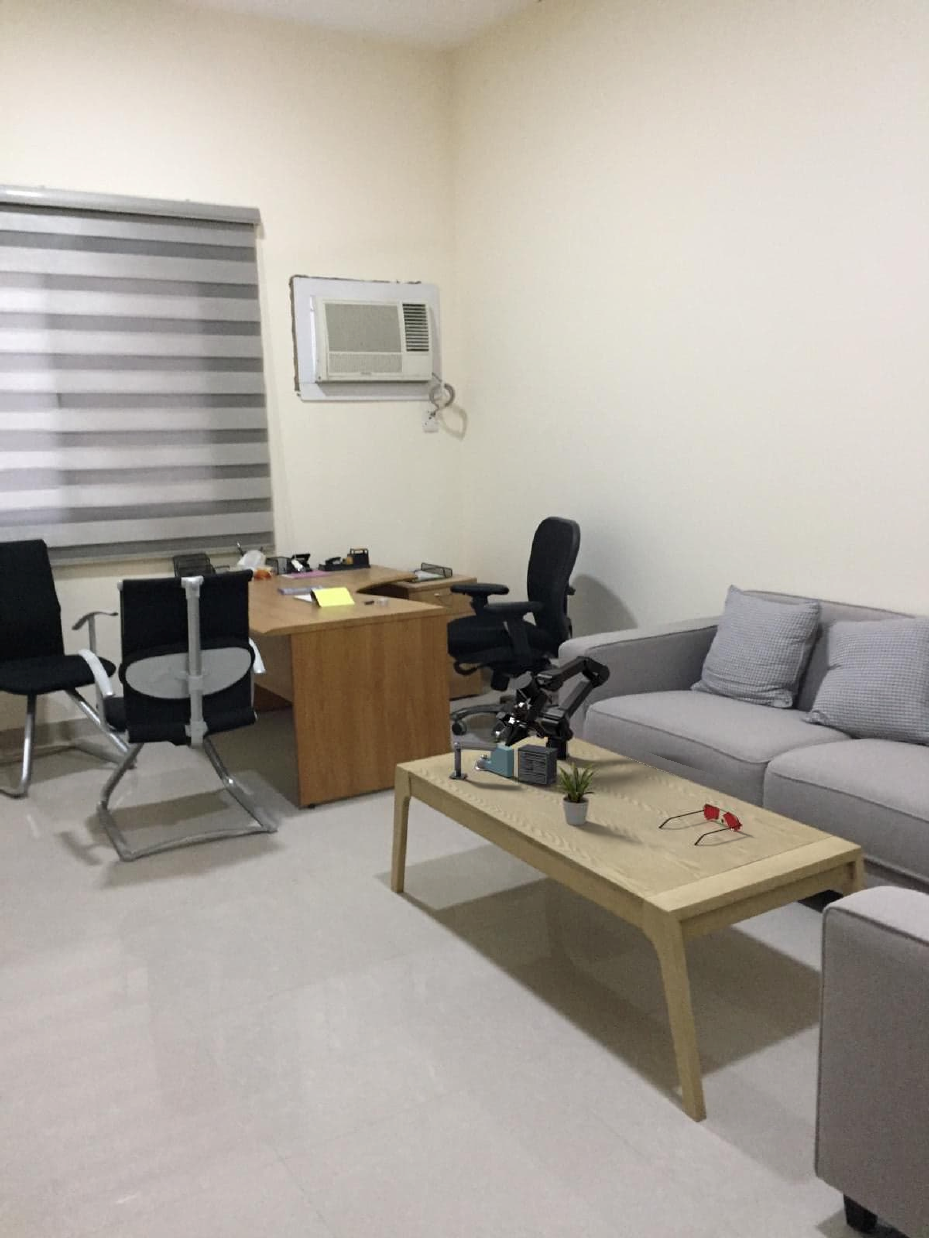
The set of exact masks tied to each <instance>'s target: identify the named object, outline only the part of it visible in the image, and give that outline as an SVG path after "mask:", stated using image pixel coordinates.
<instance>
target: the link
mask: <svg viewBox="0 0 929 1238" xmlns="http://www.w3.org/2000/svg"><path fill="white" fill-rule="evenodd" d="M496 744H498V748H497V749H496V750H495V751H490V756H488V755H487V759H482V758H481V756H478V757H476V765H477V767H478V768H485V769H487V770H488V771H490V772H492V773H495V774H497V775H501V776H504V777H506V778H508V777H509V778H510V777H512V776H515V748H513V747H511V746H510V747H507V746H505V744H504V745H503V744H501V743H498V742H497V743H496Z"/></svg>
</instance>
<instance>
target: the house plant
mask: <svg viewBox="0 0 929 1238" xmlns="http://www.w3.org/2000/svg"><path fill="white" fill-rule="evenodd" d="M596 764H597V762H595V763H591V764H589V765H588V766H587V767H586V768H585V769H584V771H583V772H582V775H581V778H580V775H579V768H578V767H577V765H576V764H575V762H574V761H571V764H568V766H569V767H570V768H571V770H572V773H573V776H574V779H573V777H571V778H570V776H569V775H568V773H567V772H566V771H565V770H564V769H563V768H562V767H561V766H559V765H558V764H557V765H556V766H557V769H559V770H560V775H559V774H558V773H557V776H559V777H560V779H561V782H560V784H562V785H564V786H562V785H560V784H559V785H558V784H555V786H556V787H558V788H560V789H561V790H563V791H565V792H567V794H566V793H565V792H563V791H561V790H558V791H557V792H555V793H558V794H559V793H560V794H564V795H565V796H563V797H562V806H563V811H564V812H563V813H564V819H565V823H566V824H567V825H568V824H569V825H571V826H572V825H573V826H582V825H584V824H585V823H586V820H587V815H588V808H589V803H590V799H589V797H587V796H585V795H587V794H588V795H589V794H590V795H591V794H592V795H595V796H597V794H596V793H595V792H593V790H595V791H598V789H597V788H596V787H590V788H588V786H589V785H590V783H591V782H592V781H594V780H595V779H594V778H593V777H594V776H595V775H598V774H599V773H600V774H601V773H604V771H598V769H597V770H593V771H592V772H591V773H589V771H591V768H592V767H593V766H594V765H596ZM588 773H589V774H588ZM554 774H555V773H554ZM591 778H593V779H591ZM590 790H592V791H590Z"/></svg>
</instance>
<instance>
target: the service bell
mask: <svg viewBox="0 0 929 1238" xmlns="http://www.w3.org/2000/svg"><path fill="white" fill-rule="evenodd" d="M487 756H488V754H481V756H480V757H481V758H482V759H487ZM473 767H474V768H473V769H474V770H476V771H481V770H487V769H485V768H478V767H477V764H475V765H473Z"/></svg>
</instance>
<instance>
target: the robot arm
mask: <svg viewBox="0 0 929 1238" xmlns="http://www.w3.org/2000/svg"><path fill="white" fill-rule="evenodd" d="M580 673H581V674H580ZM578 674H580V675H581V677H580V679H581V680H580V681H579V682H578V683H577V685H575V687H574V689H573V690H572V691H571V692H570V693H569V694H568V696H567V697H566V699H564V701H563V702H561V704H560V706H559V707H558V708H552V707H551V708H549V709H547V711H546V713H545V714H544V715H543V716H542V715H541V713H542V712H543V709H544V708H545V707H546V705H547V704H549V705H553V698H552V697H553V696H552V694H548V693H547V692H550V693H557V692H558V691H559V690H561V688H563V686H564V683H566V681H568V680H570V679H571V678H573V677H575V676H577V675H578ZM610 675H611V672H610V669H609V667H608V666H607V665H605V664H602V663H600V662H598V661H596V660H594V659H593V658H592V657H590V656H588V655H587V656H586V655H581V654H580V655H577V656H576V657H575V658H574V659H572V660H569V661H568V662H566V663H564V664H563V665H561V666H559V667H557V668H555V669H548V670H543V671H541V672H539V673H538V674H537V675H534V673H533V671H526V672H525V673H523V674H521V675H519V676H518V677H517V678H516V680H515V682H514V685H515V687H516V689H517V690H518V691H519V692H520V693H521V695H522V696H523V697H524V698H525V699H526V701H525V702H521V701H520V703H515V702H512V701H508V700H507V701H506V703H505V707H504V709H503V710H502V711H499V712H497V714H496V716H495V718H496V719H497V720H498V721H499V722H500V723H501V725H503V727H505V728H507V729H508V730H507V735H506V738H505V743H504V746H507V747H510V748H511V747H512V746H513V745H516V744H517V743H519V742H521V741H523V740H525V739H526V738H530V737H531V735H530V734H531V733H532V732H533V733H536V734H535V735H536V738H537V739H541V740H544V739H545V738H547V741H546V742H545V747H549V748H556V749H557V760H567V758H568V756H570V753H569V741H571V740H572V739H573V736H574V732H573V730H572V729H571V718H572V716H574V714H575V713H576V711H577V710H578V709H579V708H580V706H582V704H583V702H584V701H586V699H587V697H588V696H589V695H590V694H591V693H592V691H593V690H595V689H597V688H599V687H601V686H603V685H604V684H605V683H606V682H607V681H608V680H609V678H610ZM508 712H509V713H508ZM510 713H511V714H510ZM541 717H542V719H541ZM537 719H541V720H540V721H541V722H539V721H536V720H537Z"/></svg>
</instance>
